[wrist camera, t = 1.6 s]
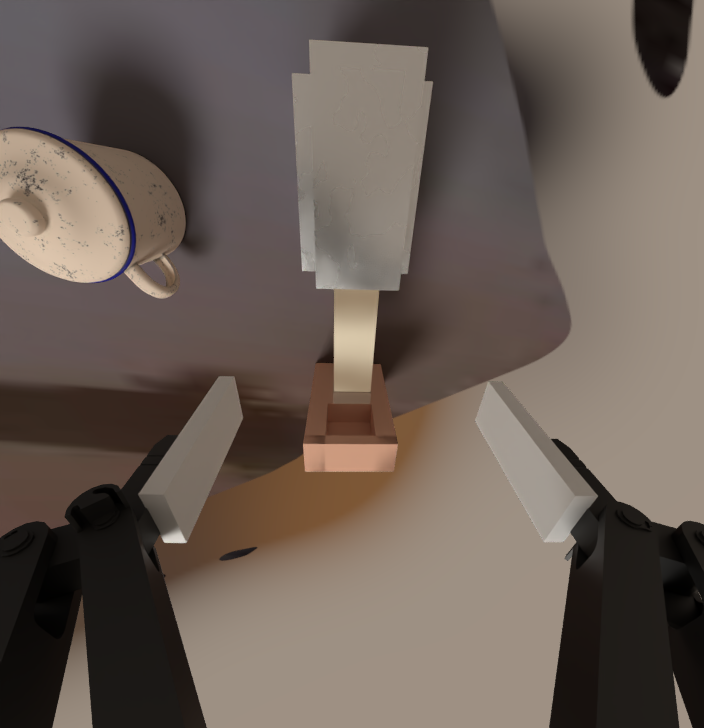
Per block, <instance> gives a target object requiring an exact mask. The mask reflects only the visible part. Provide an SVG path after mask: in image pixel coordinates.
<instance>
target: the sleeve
mask: <svg viewBox="0 0 704 728" xmlns="http://www.w3.org/2000/svg"><path fill="white" fill-rule="evenodd" d="M309 54H310V74H298V73H292V87H293V106H294V125H295V144H296V163H297V182H298V202H299V221H300V240H301V259H302V271H316V288H318V289H354V290H390V291H399V286H400V277H401V274H408V266H409V259H410V251H411V244H412V236H413V229H414V221H415V214H416V206H417V198H418V191H419V183H420V176H421V168H422V161H423V153H424V146H425V138H426V131H427V123H428V116H429V108H430V101H431V93H432V86H433V81H424V80H425V72H426V64H427V55H428V47H417V46H401V45H385V44H370V43H354V42H338V41H323V40H309Z"/></svg>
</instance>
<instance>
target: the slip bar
mask: <svg viewBox="0 0 704 728" xmlns="http://www.w3.org/2000/svg"><path fill="white" fill-rule="evenodd" d="M378 298H379V290H354V289H334V386H333V404H370V400H371V380H372V368H373V357H374V345H375V333H376V322H377V310H378Z"/></svg>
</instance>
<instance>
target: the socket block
mask: <svg viewBox="0 0 704 728" xmlns="http://www.w3.org/2000/svg"><path fill="white" fill-rule="evenodd" d="M333 386H334V363H316V365H315V371H314V378H313V384H312V391H311V397H310V404H309V410H308V416H307V423H306V429H305V436H304V442H303V448H304V461H305V472H393V471H394V465H395V459H396V454H397V448H398V442H397V437H396V433H395V428H394V424H393V419H392V414H391V410H390V405H389V401H388V396H387V391H386V387H385V382H384V378H383V373H382V368H381V364H373V368H372V380H371V400H370V404H333Z"/></svg>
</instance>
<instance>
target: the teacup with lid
mask: <svg viewBox="0 0 704 728" xmlns="http://www.w3.org/2000/svg"><path fill="white" fill-rule="evenodd" d="M185 226H186V219H185V211H184V207H183V204H182V201H181V199H180V196H179V194H178V192H177V191H176V189H175V187H174V186H173V184H172V183H171V181H170V180H169V179H168V178H167V176H166V175H165V174H164V173H163V172H162V171H161V170H160V169H159V168H158V167H157V166H155V165H154V164H153V163H152V162H150V161H149V160H147V159H146V158H144V157H142V156H140V155H138V154H136V153H133V152H131V151H127V150H123V149H117V148H112V147H107V146H101V145H96V144H90V143H85V142H79V141H74V140H69V139H63V138H61V137H59V136H57V135H54V134H52V133H49V132H46V131H43V130H39V129H35V128H29V127H10V128H6V129H2V130H0V238H1V239H2V240H3V241H4V242H5V243H6V244H7V245H8V246H9V247H10V248H11V249H12V250H13V251H14V252H16V253H17V254H18V255H19V256H21V257H22V258H23V259H25V260H26V261H27V262H29V263H30V264H32V265H34V266H35V267H37V268H39V269H41V270H43V271H44V272H47V273H49V274H51V275H54V276H56V277H59V278H62V279H66V280H69V281H74V282H82V283H100V282H105V281H108V280H111V279H114V278H116V277H117V276H119V275H120V274H122V273H123V272H124V273H125V274H126V275H127V276H128V277H129V278H130V279H131V280H132V281H133V282H134V283H135V284H136V285H137V286H138V287H139V288H140V289H141V290H143V291H144V292H146V293H147V294H149V295H151V296H154V297H157V298H167V297H170V296H171V295H173V294H174V293H175V292H176V291H177V290H178V288H179V285H180V278H179V274H178V271H177V269H176V268H175V266H174V264H173V263H172V262H171V260H170V259H169V258H168V256H167V255H168V254H169V253H171V252H173V251H174V250H175V249H176V248H177V247H178V246H179V244H180V243H181V241H182V239H183V236H184V233H185ZM152 260H153V261H154V262H155V263H156V264H157V265H158V267H159V268H160V269H161V271H162V272H163V274H164V276H165V278H166V287H165V286H162V285H160V284H158V283H156V282H155V281H154V280H152V279H151V278H150V277H149V276H148V275H147V274H146V273H145V272H144V271H143V269H142V268H141V267H140V266H139V265H141V264H144V263H147V262H149V261H152Z"/></svg>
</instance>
